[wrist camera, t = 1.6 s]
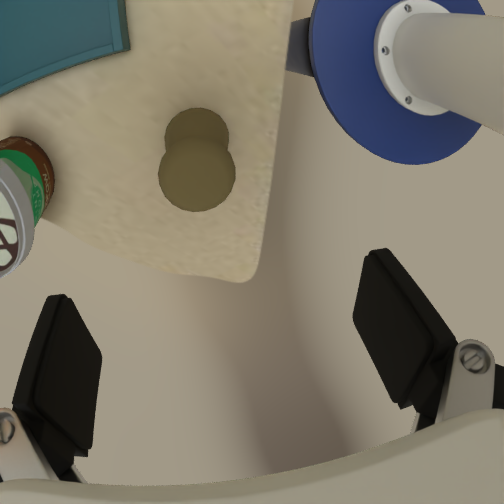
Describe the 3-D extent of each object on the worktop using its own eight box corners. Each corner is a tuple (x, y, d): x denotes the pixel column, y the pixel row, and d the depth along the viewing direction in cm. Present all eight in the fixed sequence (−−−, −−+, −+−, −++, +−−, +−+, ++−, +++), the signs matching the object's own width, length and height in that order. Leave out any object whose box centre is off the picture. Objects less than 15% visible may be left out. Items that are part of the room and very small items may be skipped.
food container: (72, 226, 31) (42, 286, 23) (27, 228, 30) (-10, 284, 22) (58, 114, 24) (6, 146, 16) (8, 123, 23) (-49, 157, 15)
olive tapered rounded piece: (233, 111, 28) (252, 143, 19) (224, 171, 31) (237, 228, 22) (167, 105, 26) (151, 134, 17) (162, 166, 30) (147, 223, 21)
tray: (119, -80, 14) (112, -91, 12) (130, 49, 23) (123, 49, 20) (-27, -13, 13) (-43, -15, 10) (-14, 104, 21) (-30, 110, 19)
